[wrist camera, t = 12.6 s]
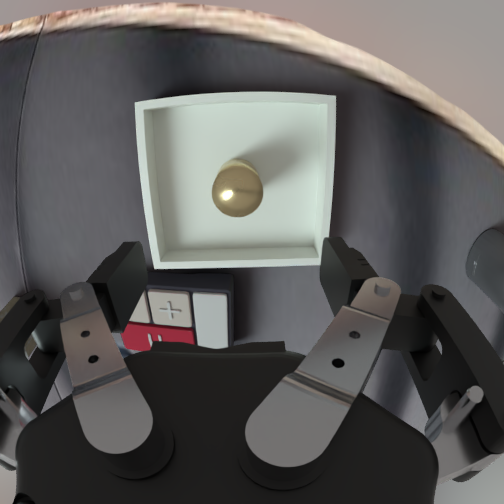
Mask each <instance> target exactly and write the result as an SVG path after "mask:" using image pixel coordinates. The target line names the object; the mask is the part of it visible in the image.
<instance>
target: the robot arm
mask: <svg viewBox="0 0 504 504" xmlns="http://www.w3.org/2000/svg"><path fill="white" fill-rule="evenodd" d="M466 269H467V275H468V277H469V278H470V279H471V280H472V281H473V282H474V283H475V284H476V285H477V286H478V287H479V288H480V289H481V290H482V291H483V292H484V293H485V294H486V295H487V296H488V297H489V298H490V299H491V300H492V301H493V302H494V303H495V304H496V305H497V306H498V308H499V309H500V310H501V311H502V312H503V313H504V234H502V233H501V232H499V231H498V230H496V229H489V230H487V231H485V232H484V233H483V234H481V235H480V236H479V238H478V239H477V240H476V242H475V243H474V245H473V247H472V249H471V251H470V253H469V256H468V260H467V267H466ZM320 281H321V285H322V287H323V289H324V292H325V294H326V297H327V299H328V302H329V304H330V307H331V309H332V312H333V314H334V317H335V318H334V319H333V321H332V322H331V323H330V325H329V326H328V328H327V329H326V331H325V332H324V333H323V335H322V336H321V337H320V339H319V340H318V341H317V343H316V344H315V346H314V347H313V348H312V350H311V351H310V352H309V354H308V355H307V356H305V355H302V354H299V353H295V352H291V351H286V350H285V343H284V341H278V342H251V343H246V344H241V345H236V346H230V347H225V348H219V349H213V348H208V347H203V346H199V345H194V344H190V343H185V342H168V341H153V343H152V346H151V349H150V350H146V351H142V352H138V353H135V354H132V355H130V356H128V357H126V358H124V359H123V358H122V356H121V353H120V351H119V349H118V347H117V345H116V343H115V340H114V338H113V336H112V334H111V333H112V332H113V333H124V331H125V328H126V326H127V324H128V322H129V320H130V318H131V316H132V314H133V312H134V310H135V308H136V306H137V304H138V302H139V300H140V298H141V296H142V294H143V292H144V290H145V288H146V286H147V283H148V273H147V268H146V263H145V258H144V253H143V248H142V244H141V243H140V242H139V241H137V242H123V243H122V245H121V246H120V247H119V248H118V249H117V250H116V252H115V253H113V254H111V255H110V256H108V257H106V258H105V259H104V260H103V262H102V263H101V265H99V266H98V268H97V270H95V271H94V272H93V274H92V275H91V276H90V277H89V278H88V280H87V281H86V282H79V283H75V284H72V285H70V286H68V287H67V288H66V289H64V290H63V292H62V293H61V295H60V299H55V300H50V301H47V299H46V296H45V294H44V292H43V291H41V290H34V291H30V292H28V293H26V294H24V295H23V296H22V297H21V298H20V299H19V300H18V301H17V302H16V304H15V305H14V306H13V307H12V308H11V310H10V311H9V312H8V313H7V315H6V316H5V317H4V318H3V320H2V321H1V322H0V465H1V466H3V467H4V468H5V469H7V470H11V471H12V470H16V474H17V485H16V496H15V499H14V502H13V504H434V495H435V490H436V486H437V485H439V484H442V483H444V482H447V481H449V480H451V479H452V480H454V481H457V482H464V481H467V480H469V479H471V478H472V477H473V476H475V475H476V474H478V473H479V472H480V471H482V470H483V469H484V468H486V467H487V466H488V465H490V464H491V463H492V462H493V461H495V460H496V459H497V458H499V457H500V456H501V455H502V454H503V453H504V364H503V362H502V361H501V359H500V358H499V356H498V355H497V353H496V352H495V350H494V349H493V347H492V346H491V344H490V343H489V342H488V340H487V339H486V337H485V336H484V335H483V333H482V332H481V330H480V329H479V328H478V326H477V325H476V324H475V322H474V321H473V320H472V318H471V317H470V316H469V314H468V313H467V312H466V311H465V309H464V308H463V307H462V306H461V304H460V303H459V302H458V301H457V299H456V298H455V297H454V296H453V295H452V293H451V292H450V291H448V290H447V289H445V288H444V287H441V286H438V285H433V284H429V285H425V286H423V287H422V289H421V292H420V295H419V296H415V295H407V294H401V289H400V287H399V286H398V285H397V284H396V283H395V282H393V281H391V280H389V279H386V278H381V277H379V276H378V275H377V273H376V272H375V271H374V269H373V268H372V267H371V265H369V263H368V261H367V260H366V259H365V257H364V256H363V255H362V254H361V253H360V252H359V251H357V250H355V249H354V248H349V247H348V246H347V244H346V243H345V241H344V240H343V239H342V238H341V237H325V238H324V239H323V245H322V255H321V264H320ZM30 335H32V337H33V339H34V341H35V342H36V344H37V348H36V349H35V351H34V353H33V354H32V356H31V358H30V360H29V361H28V359H27V357H26V356H25V352H24V346H25V343H26V341H27V340H28V338H29V337H30ZM438 339H439V341H440V342H441V345H442V355H441V353H440V351H439V350H438V348H437V346H436V342H437V340H438ZM382 349H390V350H400V351H401V353H402V356H403V358H404V360H405V362H406V364H407V367H408V369H409V371H410V374H411V376H412V378H413V381H414V383H415V385H416V388H417V390H418V393H419V395H420V398H421V400H422V403H423V405H424V408H425V410H426V413H427V416H428V418H429V420H428V421H427V423H426V426H425V436H424V435H423V434H422V433H421V432H419V431H418V430H417V429H415V428H413V427H412V426H410V425H409V424H407V423H406V422H404V421H403V420H401V419H400V418H398V417H397V416H395V415H394V414H392V413H391V412H389V411H388V410H386V409H385V408H383V407H382V406H380V405H379V404H377V403H376V402H374V401H373V400H371V399H370V398H368V397H367V396H366V395H364V394H363V391H364V388H365V386H366V384H367V382H368V380H369V378H370V376H371V373H372V371H373V369H374V367H375V364H376V362H377V360H378V358H379V355H380V353H381V350H382ZM65 358H66V359H67V364H68V368H69V372H70V376H71V380H72V384H73V388H74V390H73V391H72V394H70V395H69V396H67V397H66V398H64V399H63V400H61V401H60V402H58V403H57V404H55V405H54V406H52V407H51V408H49V409H48V410H46V411H45V412H43V413H42V414H41V411H42V409H43V406H44V404H45V401H46V399H47V397H48V394H49V392H50V390H51V388H52V385H53V383H54V381H55V379H56V377H57V374H58V372H59V370H60V368H61V366H62V364H63V362H64V360H65Z"/></svg>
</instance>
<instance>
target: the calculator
mask: <svg viewBox="0 0 504 504" xmlns="http://www.w3.org/2000/svg"><path fill="white" fill-rule="evenodd" d="M147 273H148V283H147V286H146V288H145V290H144V292H143V294H142V296H141V298H140V300H139V302H138V304H137V306H136V308H135V310H134V312H133V314H132V316H131V318H130V320H129V322H128V324H127V326H126V328H125V331H124V333H120V334H121V337H122V340H123V343H124V346H125V347H126V348H127V349H132V350H138V351H146V350H150V349H151V346H152V343H153V341H168V342H185V343H190V344H194V345H199V346H203V347H208V348H213V349H219V348H225V347H230V346H233V344H234V276H233V275H232V274H214V273H197V274H178V273H162V272H147Z"/></svg>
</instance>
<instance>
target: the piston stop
mask: <svg viewBox="0 0 504 504" xmlns="http://www.w3.org/2000/svg"><path fill="white" fill-rule="evenodd" d="M212 199H213V202H214V204H215V206H216V207H217V208H218V209H219V210H220V211H221V212H222V213H224V214H225V215H228V216H231V217H244V216H247V215H249V214H251V213H253V212H254V211H255V210H256V209H257V208H258V207H259V206H260V204H261V202H262V199H263V186H262V183H261V180H260V178H259V175H258V173H257V170H256V168H255V167H254V166H253V165H252V164H251V163H250V162H249V161H247V160H244V159H238V158H237V159H231V160H229V161H227V162H225V163H224V164H223V165H222V166H221V168H220V169H219V171H218V174H217V176H216V178H215V181H214V183H213V186H212Z"/></svg>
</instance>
